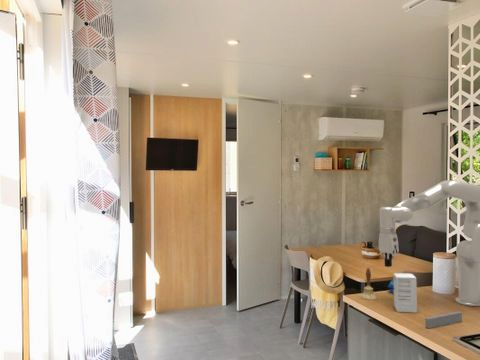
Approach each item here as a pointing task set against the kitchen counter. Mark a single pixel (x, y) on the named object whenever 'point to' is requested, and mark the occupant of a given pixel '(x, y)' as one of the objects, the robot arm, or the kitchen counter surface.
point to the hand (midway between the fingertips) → (388, 266)
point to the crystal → (391, 286)
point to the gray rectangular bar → (443, 319)
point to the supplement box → (405, 292)
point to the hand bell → (368, 288)
